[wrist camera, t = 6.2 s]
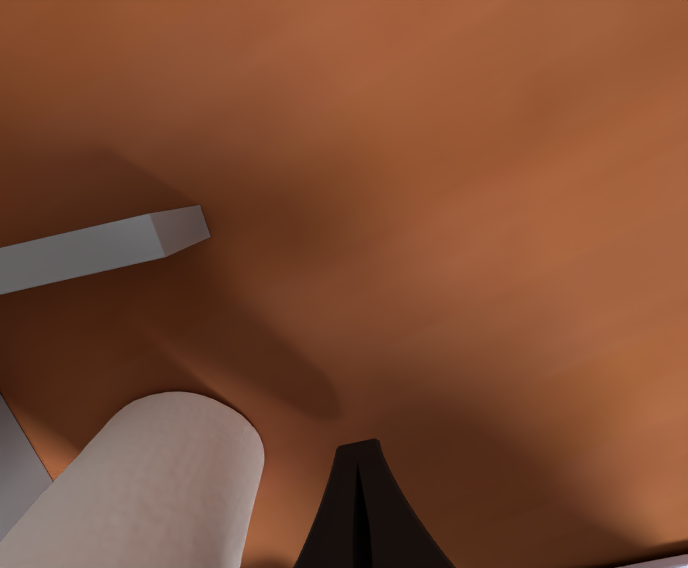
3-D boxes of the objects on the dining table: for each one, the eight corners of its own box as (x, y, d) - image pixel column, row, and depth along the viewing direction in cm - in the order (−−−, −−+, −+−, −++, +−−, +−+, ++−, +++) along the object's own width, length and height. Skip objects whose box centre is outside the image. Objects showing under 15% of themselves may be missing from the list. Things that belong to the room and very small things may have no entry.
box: (332, 600, 16) (332, 695, 13) (124, 639, 16) (78, 742, 13) (200, 205, 10) (149, 213, 7) (-105, 275, 11) (-266, 309, 8)
